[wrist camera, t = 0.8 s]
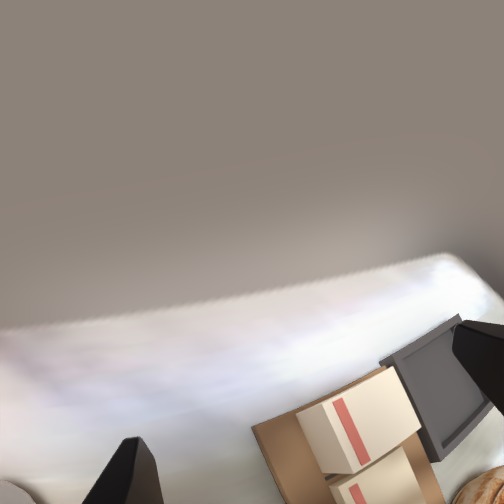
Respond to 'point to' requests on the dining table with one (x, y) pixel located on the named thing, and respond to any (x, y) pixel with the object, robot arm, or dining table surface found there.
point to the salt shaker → (13, 494)
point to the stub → (359, 424)
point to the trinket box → (483, 489)
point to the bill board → (345, 485)
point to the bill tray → (439, 390)
